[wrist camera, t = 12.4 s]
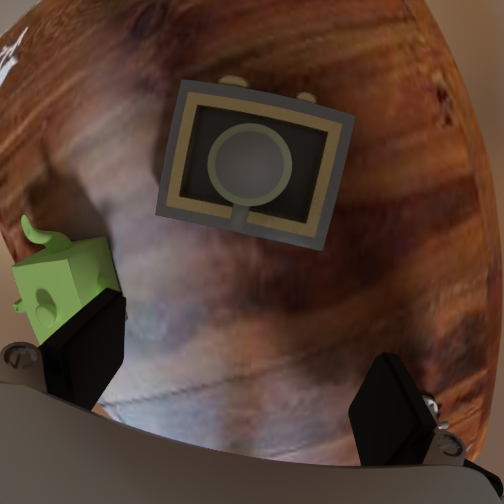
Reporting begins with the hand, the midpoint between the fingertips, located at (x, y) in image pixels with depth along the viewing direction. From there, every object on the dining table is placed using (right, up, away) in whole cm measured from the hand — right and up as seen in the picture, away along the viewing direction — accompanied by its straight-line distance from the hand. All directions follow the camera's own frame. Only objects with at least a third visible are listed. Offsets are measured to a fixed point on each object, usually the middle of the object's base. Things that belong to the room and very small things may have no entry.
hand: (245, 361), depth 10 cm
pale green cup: (0, +12, +16) cm, 20 cm away
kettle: (-20, +1, +26) cm, 32 cm away
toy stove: (+1, +13, +21) cm, 25 cm away
